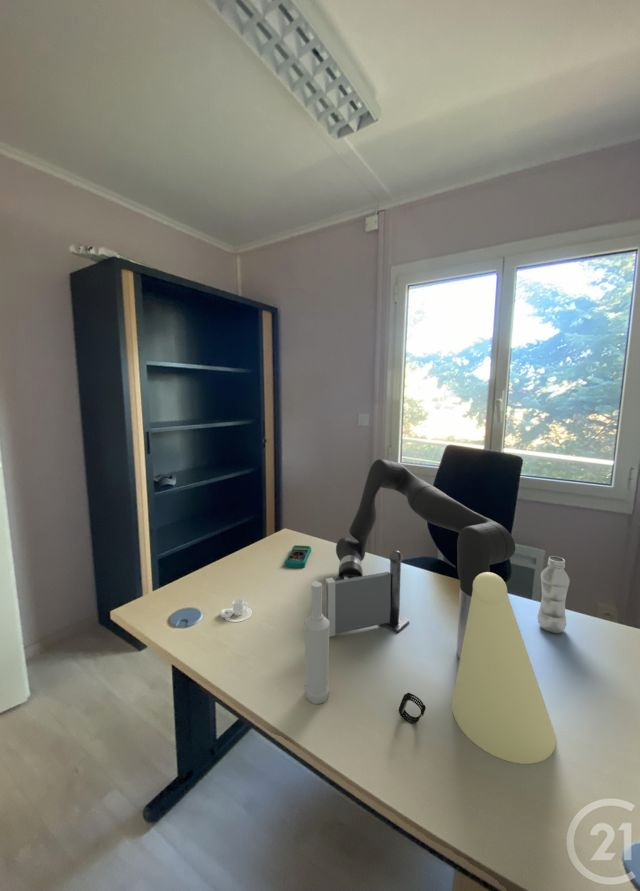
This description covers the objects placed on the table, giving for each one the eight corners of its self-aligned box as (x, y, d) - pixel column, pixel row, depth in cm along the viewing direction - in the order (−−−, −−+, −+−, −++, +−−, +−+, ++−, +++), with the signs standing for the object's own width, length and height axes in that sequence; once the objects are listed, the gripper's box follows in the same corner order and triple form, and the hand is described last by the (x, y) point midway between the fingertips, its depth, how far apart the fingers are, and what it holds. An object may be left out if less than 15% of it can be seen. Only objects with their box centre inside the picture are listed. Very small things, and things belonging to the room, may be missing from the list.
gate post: (409, 623, 103) (411, 550, 100) (397, 633, 99) (399, 557, 96) (390, 614, 107) (392, 544, 104) (378, 623, 103) (380, 550, 100)
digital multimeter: (284, 568, 137) (284, 560, 136) (293, 551, 152) (293, 544, 151) (304, 569, 136) (304, 561, 135) (311, 552, 151) (311, 545, 150)
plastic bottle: (571, 636, 97) (578, 564, 94) (545, 636, 97) (551, 564, 94) (556, 621, 103) (562, 553, 101) (531, 621, 103) (537, 553, 101)
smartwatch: (407, 707, 75) (407, 684, 75) (427, 725, 71) (428, 701, 70) (393, 717, 73) (393, 694, 72) (414, 736, 69) (414, 712, 68)
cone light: (471, 669, 85) (479, 524, 81) (564, 715, 73) (581, 547, 68) (420, 742, 67) (427, 561, 63) (533, 819, 55) (552, 601, 50)
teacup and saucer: (216, 621, 105) (215, 607, 104) (229, 605, 112) (229, 593, 112) (244, 625, 103) (244, 611, 102) (256, 609, 110) (256, 596, 110)
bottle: (315, 681, 82) (315, 575, 79) (334, 693, 79) (334, 583, 75) (300, 696, 78) (298, 585, 75) (318, 709, 75) (318, 593, 71)
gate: (386, 618, 103) (387, 568, 101) (390, 623, 101) (391, 572, 99) (325, 631, 97) (325, 578, 95) (328, 636, 95) (328, 583, 93)
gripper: (329, 559, 116) (325, 588, 99) (371, 561, 115) (375, 591, 97) (329, 582, 117) (325, 614, 100) (371, 583, 116) (374, 617, 98)
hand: (350, 602), depth 99 cm, fingers closed
